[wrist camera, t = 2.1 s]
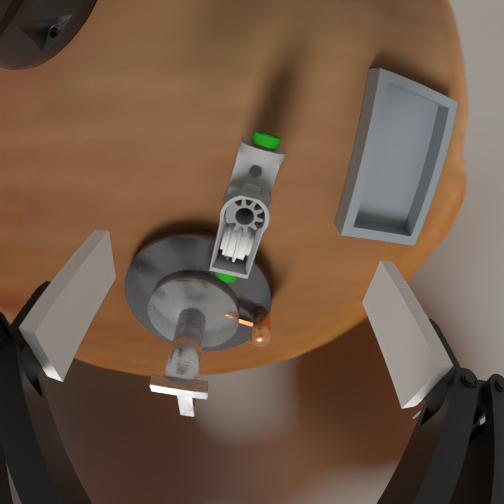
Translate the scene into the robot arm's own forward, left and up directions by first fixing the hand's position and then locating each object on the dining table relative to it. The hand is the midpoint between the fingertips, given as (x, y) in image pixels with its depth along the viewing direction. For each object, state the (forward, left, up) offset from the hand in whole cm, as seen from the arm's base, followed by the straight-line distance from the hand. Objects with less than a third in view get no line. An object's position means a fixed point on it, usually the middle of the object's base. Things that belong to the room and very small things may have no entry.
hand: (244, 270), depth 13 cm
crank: (+17, -4, -13) cm, 22 cm away
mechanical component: (0, 0, -15) cm, 15 cm away
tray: (-4, +14, -15) cm, 21 cm away
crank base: (+15, -4, -15) cm, 21 cm away
